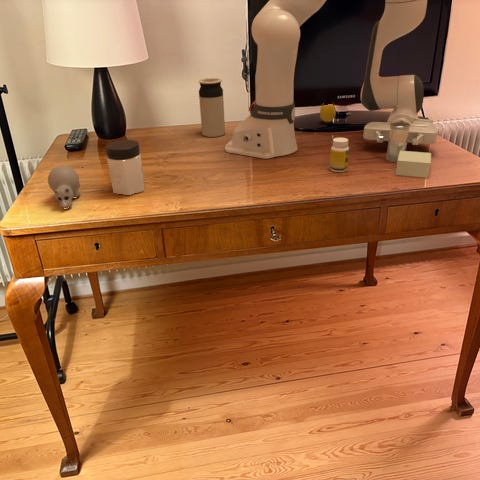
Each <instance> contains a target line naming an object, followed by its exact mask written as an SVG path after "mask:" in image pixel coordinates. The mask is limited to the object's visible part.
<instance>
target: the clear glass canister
mask: <svg viewBox="0 0 480 480" xmlns="http://www.w3.org/2000/svg"><path fill="white" fill-rule="evenodd" d="M409 128H410V124H408V123H404V122H394V123H391V124H390V133H389V141H387V151H386V158H385V159H386V161H388V162H390V163H397V161H398V157H399V152H400V151H407V145H408V142H407V140H408V133H409Z"/></svg>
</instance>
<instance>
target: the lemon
mask: <svg viewBox="0 0 480 480" xmlns="http://www.w3.org/2000/svg"><path fill="white" fill-rule="evenodd" d="M333 104H334V103H333ZM333 104H328V105H323V104H322V105H323V106H322V105H321V107H320V109H319V111H320V112H319V116H320V119H321V120H322V121H324V122H325V123H326V122H329V123H330V122H332V121H333V120H334V119H335V118H336V113H337V109H336V105H335V104H334V105H333Z"/></svg>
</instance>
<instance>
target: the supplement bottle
mask: <svg viewBox="0 0 480 480" xmlns="http://www.w3.org/2000/svg"><path fill="white" fill-rule="evenodd" d="M349 153H350V147H349V139H348V138H347V137H334V138H333V139H332V145H331V148H330V159H329V160H330V161H329V162H330V163H329V170H330V171H331V172H334V173H345V172H346V171H347V170H348V166H349Z"/></svg>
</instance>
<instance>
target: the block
mask: <svg viewBox="0 0 480 480" xmlns="http://www.w3.org/2000/svg"><path fill="white" fill-rule="evenodd" d="M431 160H432V153H431V152H422V151H411V150H409V151H408V150H406V151H400V152H399V157H398V161H397V164H396V169H395V175H396V176H403V177H413V178H414V177H415V178H424V179H425V178H426V179H428V178H429V173H430V168H431V164H432V162H431Z"/></svg>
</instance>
